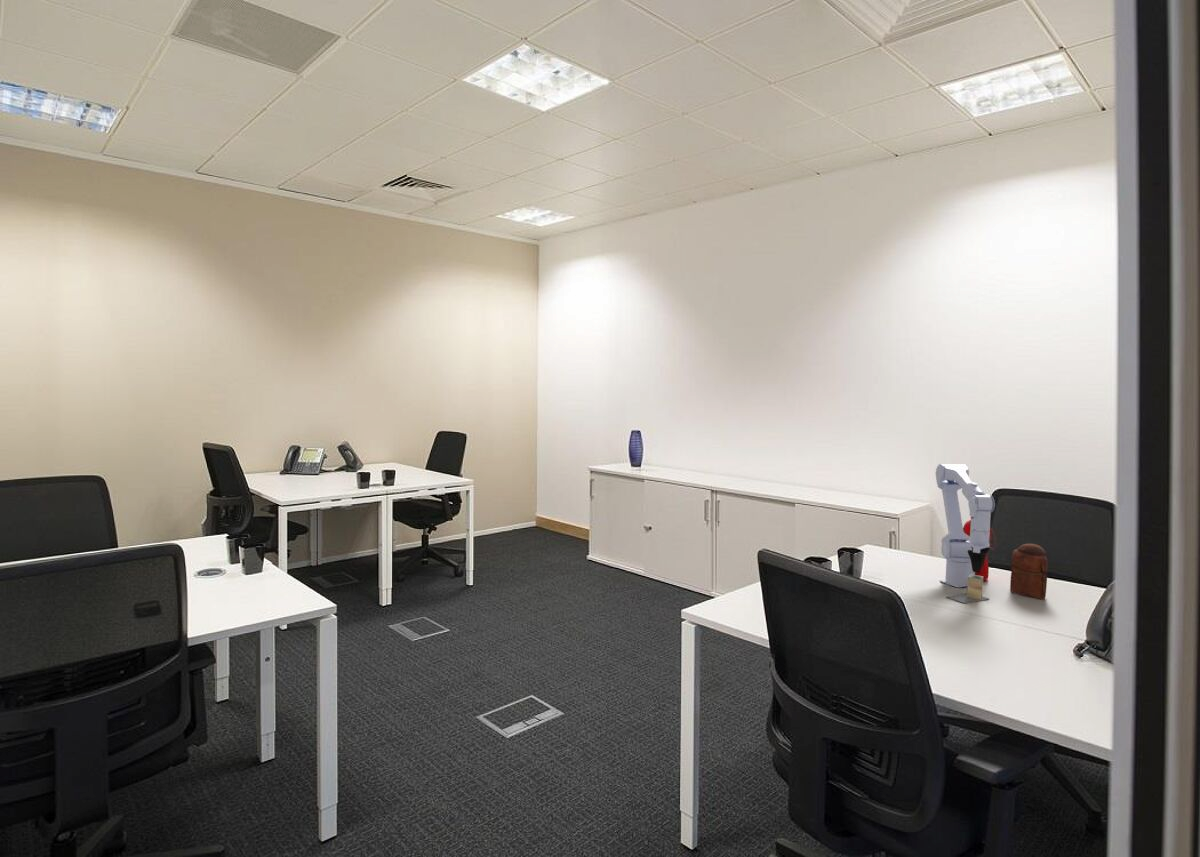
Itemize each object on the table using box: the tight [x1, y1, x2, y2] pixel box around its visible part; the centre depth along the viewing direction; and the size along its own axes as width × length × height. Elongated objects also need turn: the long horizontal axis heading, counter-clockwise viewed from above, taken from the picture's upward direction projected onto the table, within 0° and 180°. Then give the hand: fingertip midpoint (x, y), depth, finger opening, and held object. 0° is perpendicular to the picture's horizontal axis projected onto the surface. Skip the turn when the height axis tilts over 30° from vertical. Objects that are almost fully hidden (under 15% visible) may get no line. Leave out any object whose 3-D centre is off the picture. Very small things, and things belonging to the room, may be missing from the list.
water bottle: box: [963, 519, 997, 582], centre depth 253 cm, size 9×11×25 cm
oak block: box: [966, 574, 984, 599], centre depth 231 cm, size 4×4×7 cm
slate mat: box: [945, 592, 990, 605], centre depth 230 cm, size 12×7×1 cm, turn 113°
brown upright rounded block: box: [1009, 543, 1049, 600], centre depth 235 cm, size 12×6×18 cm, turn 39°
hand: (977, 569), depth 230 cm, fingers open, 7 cm apart
